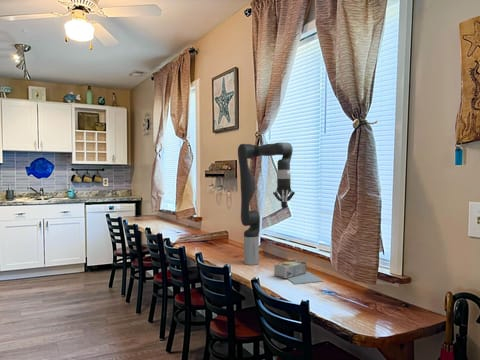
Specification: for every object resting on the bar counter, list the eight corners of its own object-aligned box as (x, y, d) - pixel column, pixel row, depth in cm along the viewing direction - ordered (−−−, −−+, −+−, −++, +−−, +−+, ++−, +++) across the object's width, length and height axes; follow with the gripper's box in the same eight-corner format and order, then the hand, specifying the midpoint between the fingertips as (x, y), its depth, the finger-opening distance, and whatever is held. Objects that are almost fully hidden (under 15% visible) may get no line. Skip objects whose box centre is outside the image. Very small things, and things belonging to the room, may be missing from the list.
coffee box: (273, 263, 201) (294, 259, 211) (274, 275, 201) (294, 270, 211) (285, 267, 194) (306, 262, 203) (285, 279, 194) (306, 273, 204)
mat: (281, 274, 203) (281, 274, 203) (307, 272, 207) (307, 271, 207) (294, 284, 186) (294, 283, 186) (323, 281, 190) (323, 280, 190)
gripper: (292, 177, 211) (292, 207, 211) (270, 177, 207) (270, 208, 208) (297, 177, 203) (297, 208, 204) (275, 178, 200) (275, 209, 201)
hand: (284, 208), depth 206 cm, fingers closed
